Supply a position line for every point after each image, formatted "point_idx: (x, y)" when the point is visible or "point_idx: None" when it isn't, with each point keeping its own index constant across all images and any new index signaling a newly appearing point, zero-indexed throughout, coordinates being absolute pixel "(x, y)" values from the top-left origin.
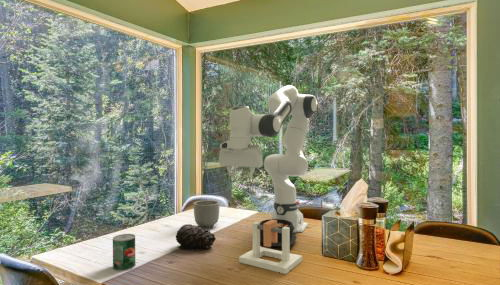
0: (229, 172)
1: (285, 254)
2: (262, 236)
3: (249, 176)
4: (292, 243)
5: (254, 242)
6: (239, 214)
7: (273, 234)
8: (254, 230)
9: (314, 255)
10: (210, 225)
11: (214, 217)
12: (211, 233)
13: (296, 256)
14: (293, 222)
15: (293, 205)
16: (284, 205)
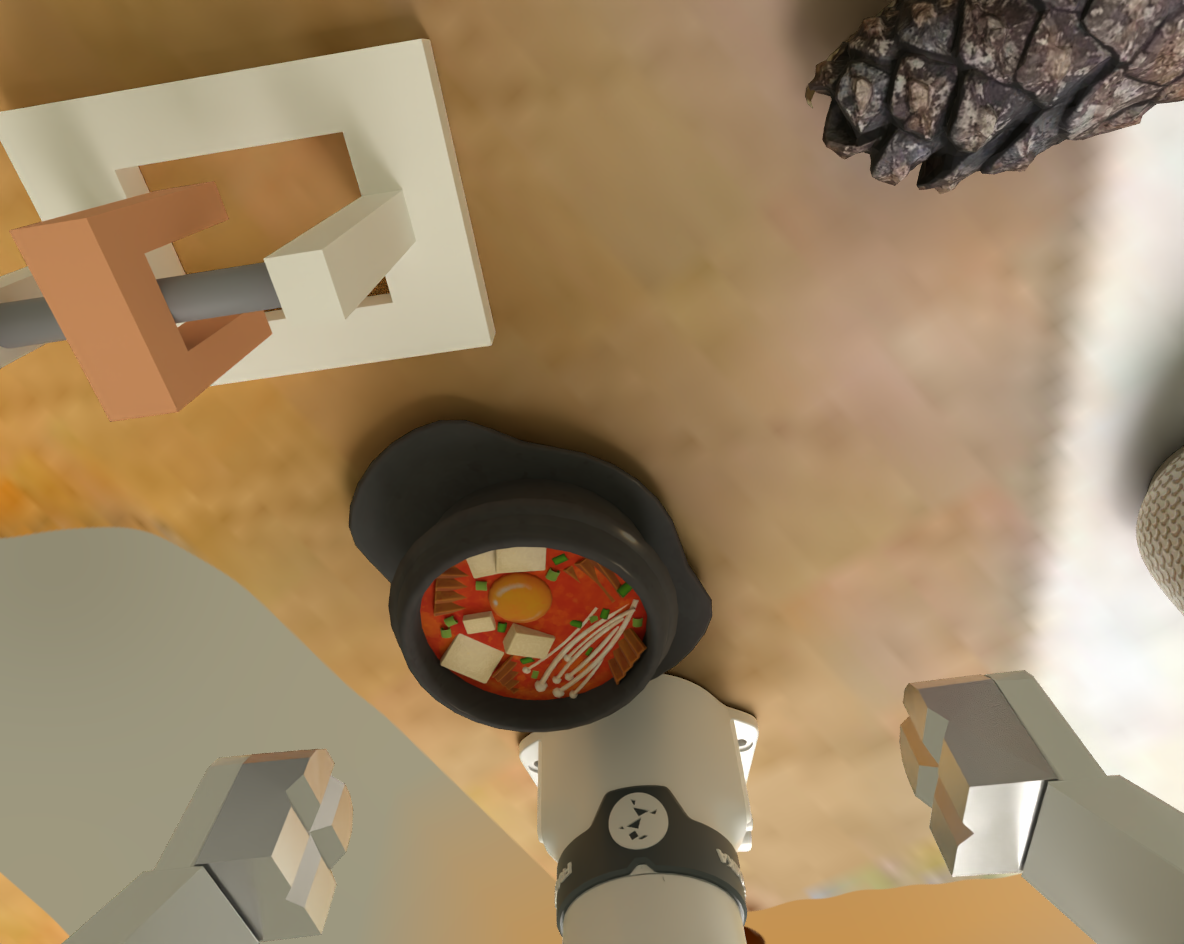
0: (1077, 784)
1: None
2: (576, 492)
3: (219, 790)
4: (353, 533)
5: (356, 209)
6: None
7: (190, 328)
8: (322, 236)
9: (180, 500)
10: (1160, 473)
11: (1174, 532)
12: (911, 160)
13: None
14: (554, 774)
15: (558, 901)
16: (604, 868)
